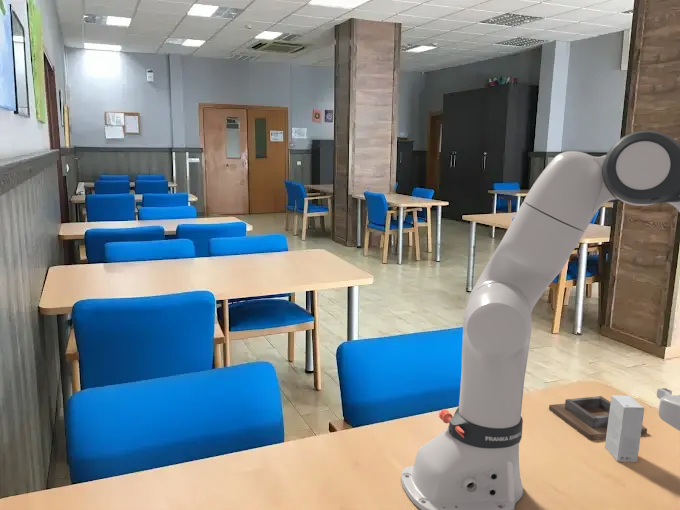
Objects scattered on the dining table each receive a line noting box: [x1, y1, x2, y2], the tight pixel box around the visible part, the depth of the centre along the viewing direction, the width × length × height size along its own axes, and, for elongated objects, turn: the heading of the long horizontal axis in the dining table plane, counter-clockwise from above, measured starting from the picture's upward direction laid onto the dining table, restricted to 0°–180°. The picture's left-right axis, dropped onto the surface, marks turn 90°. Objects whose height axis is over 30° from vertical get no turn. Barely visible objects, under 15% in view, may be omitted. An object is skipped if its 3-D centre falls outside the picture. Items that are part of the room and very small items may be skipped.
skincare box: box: [604, 394, 645, 463], centre depth 118 cm, size 6×4×12 cm
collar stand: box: [548, 395, 648, 441], centre depth 133 cm, size 15×15×4 cm
